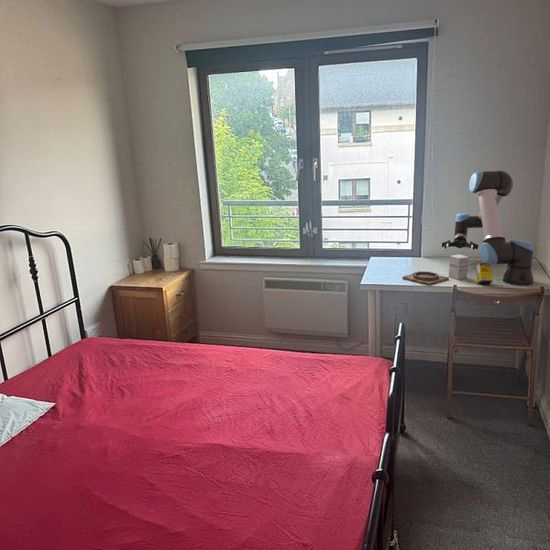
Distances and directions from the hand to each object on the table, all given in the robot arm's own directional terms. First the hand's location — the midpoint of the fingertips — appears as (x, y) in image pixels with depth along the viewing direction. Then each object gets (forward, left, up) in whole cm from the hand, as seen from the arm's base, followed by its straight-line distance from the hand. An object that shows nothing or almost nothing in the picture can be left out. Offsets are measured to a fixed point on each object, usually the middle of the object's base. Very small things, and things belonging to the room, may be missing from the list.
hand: (459, 248), depth 287 cm
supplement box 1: (-6, +8, -15) cm, 18 cm away
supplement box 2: (-24, +10, -14) cm, 29 cm away
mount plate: (+4, +25, -15) cm, 29 cm away
